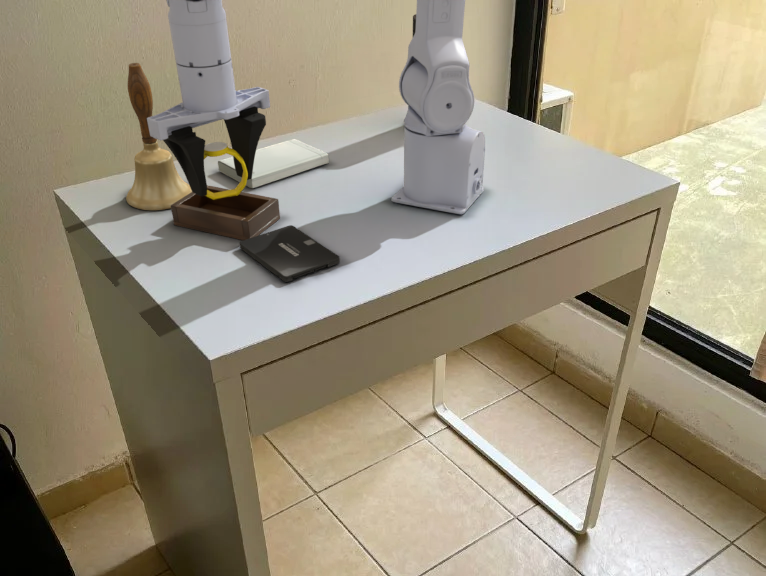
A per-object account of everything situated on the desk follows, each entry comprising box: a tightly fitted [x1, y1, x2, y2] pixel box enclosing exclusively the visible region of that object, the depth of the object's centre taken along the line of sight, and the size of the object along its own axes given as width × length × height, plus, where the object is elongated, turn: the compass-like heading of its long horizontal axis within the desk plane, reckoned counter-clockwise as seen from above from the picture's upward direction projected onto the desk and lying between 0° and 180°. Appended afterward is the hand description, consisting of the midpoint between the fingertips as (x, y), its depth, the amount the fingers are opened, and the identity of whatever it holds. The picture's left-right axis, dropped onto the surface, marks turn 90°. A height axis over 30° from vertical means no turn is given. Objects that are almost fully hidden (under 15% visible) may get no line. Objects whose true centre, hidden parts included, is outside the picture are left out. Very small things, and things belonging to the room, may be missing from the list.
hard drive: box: [217, 138, 330, 189], centre depth 104 cm, size 2×8×12 cm
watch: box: [204, 141, 248, 200], centre depth 88 cm, size 6×3×6 cm, turn 106°
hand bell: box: [125, 62, 192, 211], centre depth 92 cm, size 8×8×16 cm
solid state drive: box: [239, 225, 341, 283], centre depth 84 cm, size 7×10×1 cm
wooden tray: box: [170, 184, 281, 241], centre depth 91 cm, size 11×7×2 cm, turn 65°
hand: (222, 185), depth 89 cm, fingers closed on watch, 6 cm apart
